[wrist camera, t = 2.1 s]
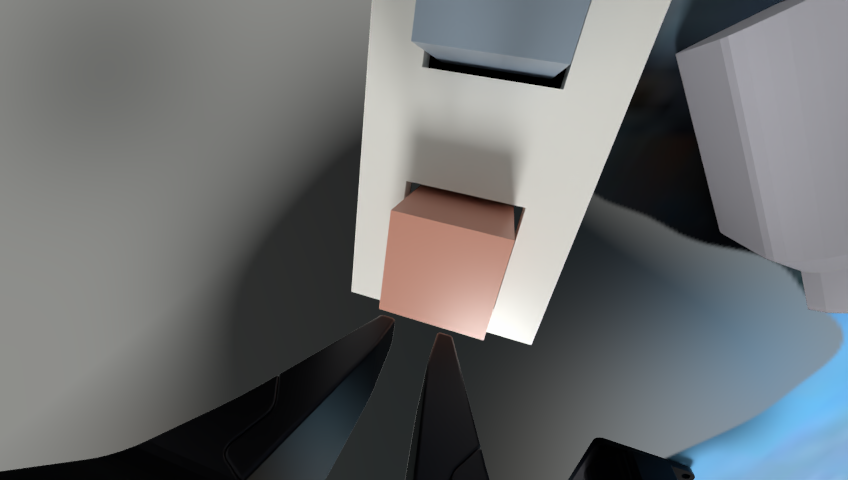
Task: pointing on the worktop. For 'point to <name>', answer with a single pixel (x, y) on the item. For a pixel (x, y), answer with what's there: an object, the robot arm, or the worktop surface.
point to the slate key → (501, 33)
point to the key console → (497, 144)
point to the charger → (779, 138)
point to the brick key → (447, 259)
